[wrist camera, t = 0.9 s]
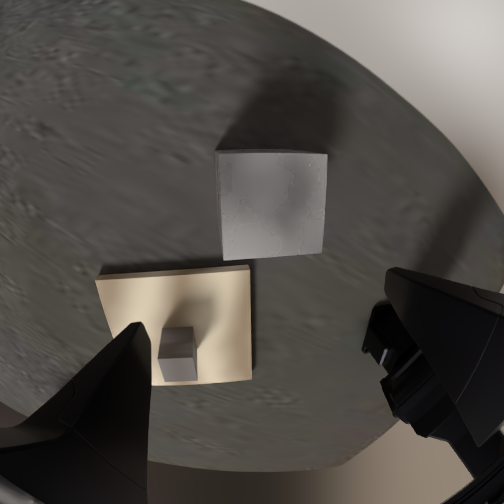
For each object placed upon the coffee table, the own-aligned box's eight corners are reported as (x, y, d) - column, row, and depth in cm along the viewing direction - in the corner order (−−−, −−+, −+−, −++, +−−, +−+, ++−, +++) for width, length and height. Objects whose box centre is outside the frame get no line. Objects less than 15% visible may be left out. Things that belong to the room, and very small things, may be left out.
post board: (247, 264, 23) (259, 296, 19) (250, 372, 28) (258, 408, 24) (98, 275, 21) (78, 306, 17) (133, 378, 26) (127, 413, 22)
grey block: (289, 149, 20) (327, 154, 14) (288, 219, 22) (321, 253, 16) (214, 150, 19) (218, 154, 13) (217, 223, 21) (223, 260, 15)
